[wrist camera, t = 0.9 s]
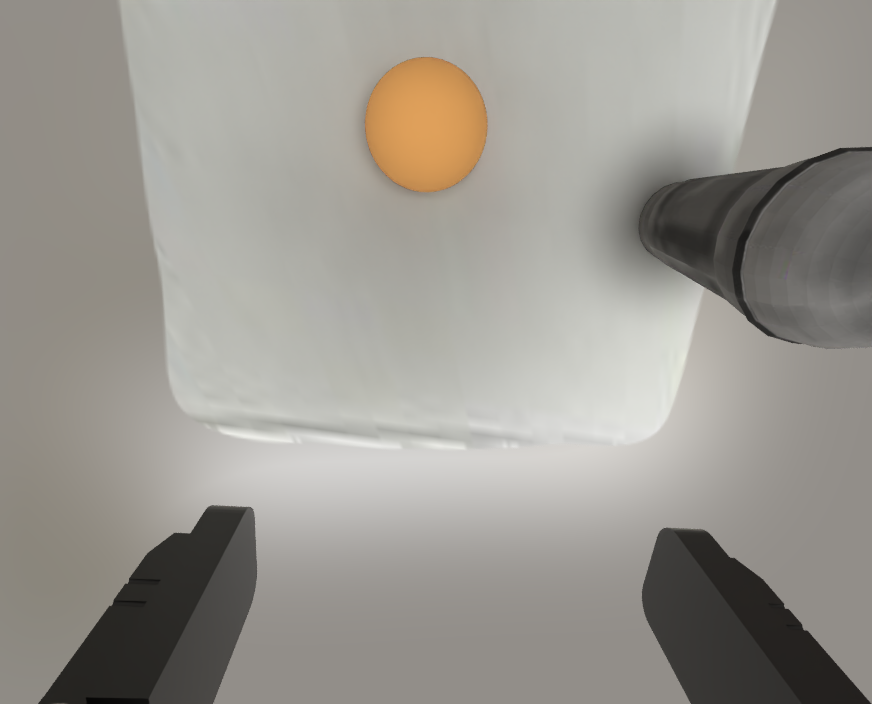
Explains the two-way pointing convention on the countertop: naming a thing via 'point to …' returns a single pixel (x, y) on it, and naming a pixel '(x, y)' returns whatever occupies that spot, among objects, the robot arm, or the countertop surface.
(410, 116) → the ball
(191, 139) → the countertop surface
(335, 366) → the countertop surface
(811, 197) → the beverage cup
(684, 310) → the countertop surface
